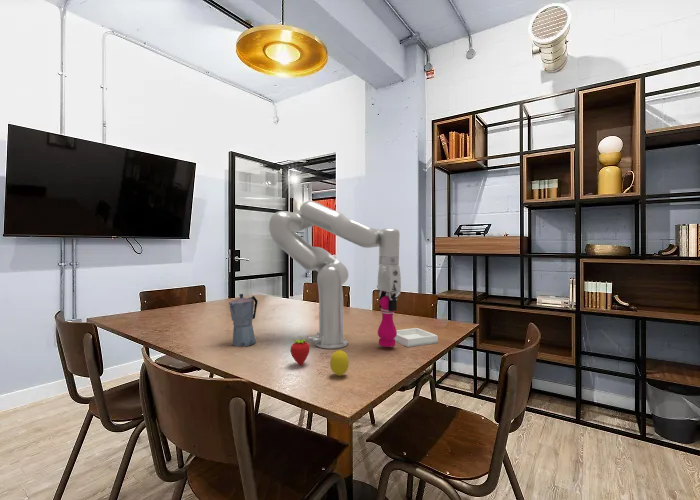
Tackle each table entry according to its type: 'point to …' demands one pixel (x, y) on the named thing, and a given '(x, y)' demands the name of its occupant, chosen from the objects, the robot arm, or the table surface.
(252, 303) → the moka pot
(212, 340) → the table surface
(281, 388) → the table surface
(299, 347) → the strawberry
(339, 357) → the lemon
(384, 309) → the pepper mill
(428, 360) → the table surface
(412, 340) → the tray
